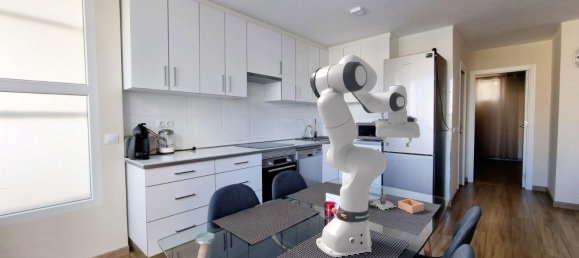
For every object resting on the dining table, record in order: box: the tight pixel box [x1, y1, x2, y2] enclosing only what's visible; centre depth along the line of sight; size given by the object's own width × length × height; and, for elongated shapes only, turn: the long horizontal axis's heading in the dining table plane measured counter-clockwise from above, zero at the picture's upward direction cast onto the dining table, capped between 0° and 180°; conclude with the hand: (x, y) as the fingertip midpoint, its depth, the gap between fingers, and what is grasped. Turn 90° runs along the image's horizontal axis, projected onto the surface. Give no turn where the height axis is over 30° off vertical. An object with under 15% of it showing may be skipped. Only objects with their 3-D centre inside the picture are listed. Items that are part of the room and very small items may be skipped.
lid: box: [372, 194, 394, 209], centre depth 144 cm, size 11×11×5 cm
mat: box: [369, 202, 397, 211], centre depth 144 cm, size 10×10×1 cm
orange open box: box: [397, 198, 425, 215], centre depth 138 cm, size 9×9×4 cm
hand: (397, 146), depth 127 cm, fingers open, 8 cm apart
